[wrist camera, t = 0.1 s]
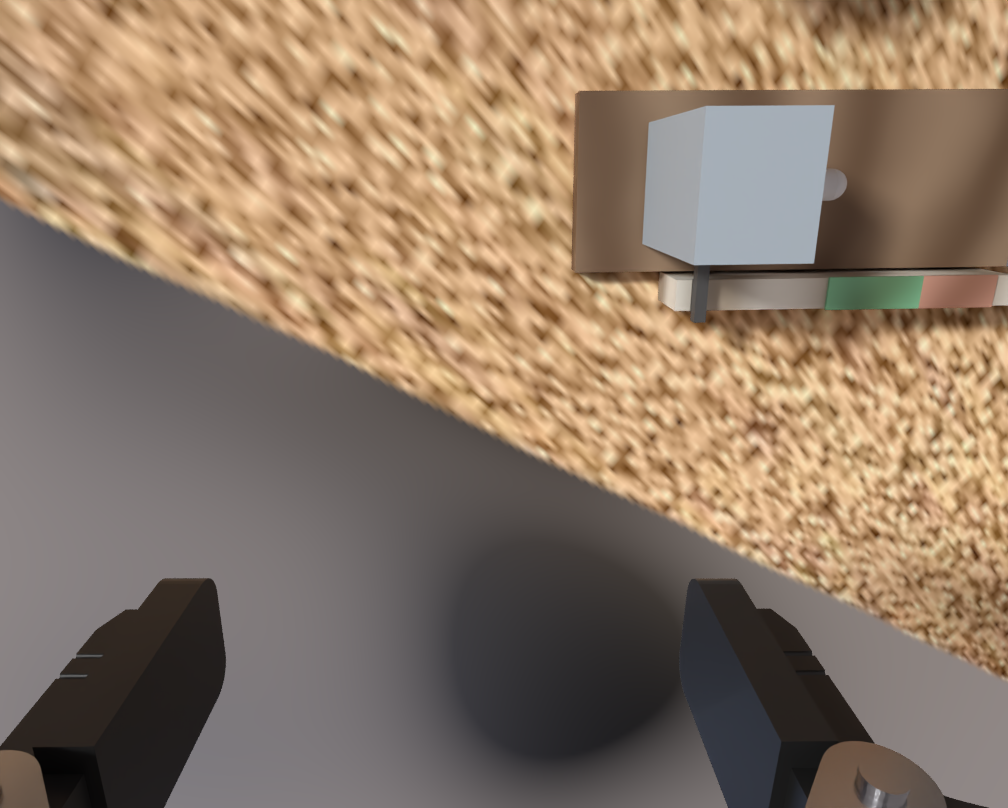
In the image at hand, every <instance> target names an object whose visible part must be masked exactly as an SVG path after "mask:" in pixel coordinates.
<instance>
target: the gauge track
mask: <svg viewBox="0 0 1008 808" xmlns="http://www.w3.org/2000/svg"><path fill="white" fill-rule="evenodd" d="M786 105H835V106H834V114H833V122H832V129H831V137H830V144H829V152H828V160H827V167H826V169H837V170H840V171H841V172H843V173H844V175H845V176H846V179H847V187H846V190H845V191H844V193H843V194H842V195H841V196H840V197H838V198H837V199H835V200H830V201H822V205H821V213H820V221H819V228H818V236H817V244H816V251H815V259H814V263H813V264H744V265H710V274H709V285H708V297H707V309H706V310H764V309H823V308H824V309H825V310H853V309H912V308H970V307H992V306H998V305H1008V274H1006V273H1000V272H995V271H990V270H984V269H979V268H974V267H991V266H1007V267H1008V89H914V90H693V91H579V92H578V93H576V94H575V138H574V184H573V229H572V270H573V271H574V272H575V273H585V272H653V271H660V273H659V289H658V300H659V301H661V302H662V303H664V304H665V305H667V306H668V307H670V308H671V309H673V310H674V311H690V312H691V305H692V292H693V279H694V266H695V265H692V264H690V263H687V262H685V261H682V260H680V259H677V258H675V257H673V256H670V255H668V254H665V253H663V252H661V251H658V250H656V249H653V248H651V247H648V246H646V245H644V244H642V241H643V222H644V204H645V185H646V166H647V148H648V129H649V122H652V121H656V120H659V119H663V118H666V117H670V116H673V115H676V114H680V113H683V112H687V111H690V110H694V109H697V108H701V107H704V106H786Z"/></svg>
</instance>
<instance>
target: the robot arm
mask: <svg viewBox="0 0 1008 808" xmlns="http://www.w3.org/2000/svg"><path fill="white" fill-rule="evenodd" d="M679 667H680V677H681V682H682V687H683V691H684V694H685V697H686V699H687V702H688V704H689V707H690V710H691V712H692V715H693V718H694V720H695V723H696V725H697V728H698V731H699V733H700V735H701V738H702V741H703V743H704V746H705V749H706V751H707V754H708V756H709V759H710V762H711V764H712V767H713V769H714V772H715V774H716V777H717V780H718V782H719V785H720V788H721V790H722V793H723V795H724V798H725V801H726V803H727V806H728V808H987V807H983V806H979V805H975V804H971V803H967V802H963V801H959V800H956V799H953V798H949V797H946V796H944V795H943V794H942V792H941V791H940V789H939V788H938V786H937V785H936V783H935V782H934V781H933V780H932V778H930V776H929V775H928V774H927V773H926V772H925V771H924V770H922V769H921V768H920V767H919V766H918V765H916V764H915V763H914V762H912V761H911V760H909V759H908V758H906V757H904V756H903V755H901V754H899V753H897V752H895V751H893V750H891V749H888V748H886V747H883V746H880V745H877V744H875V743H874V742H873V740H872V739H871V737H870V736H869V735H868V733H867V732H866V730H865V729H864V727H863V726H862V724H861V723H860V721H859V720H858V718H857V717H856V715H855V714H854V712H853V711H852V709H851V708H850V706H849V705H848V704H847V702H846V701H845V699H844V698H843V697H842V695H841V693H840V692H839V690H838V689H837V688H836V686H835V685H834V683H833V682H832V680H831V679H830V677H829V676H828V675H825V670H824V668H823V667H822V665H821V664H820V663H819V661H818V660H817V658H816V657H815V656H812V651H811V649H810V648H809V646H808V645H807V643H806V642H805V640H804V639H803V637H802V636H801V635H800V633H799V632H798V630H797V629H796V628H795V627H794V626H793V625H791V624H790V623H789V622H787V621H786V620H785V619H783V618H782V617H781V616H780V615H778V614H777V613H776V612H774V611H773V610H772V609H756V607H755V605H754V604H753V602H752V601H751V599H750V598H749V596H748V594H747V593H746V591H745V589H744V588H743V586H742V585H741V583H740V582H739V581H738V580H737V579H692V580H691V581H690V583H689V585H688V590H687V597H686V605H685V614H684V621H683V630H682V637H681V646H680V655H679ZM225 668H226V655H225V647H224V639H223V633H222V625H221V617H220V610H219V603H218V595H217V589H216V585H215V583H214V581H213V580H212V579H209V578H199V579H198V578H193V579H192V578H190V579H189V578H188V579H187V578H183V579H179V578H177V579H176V578H173V579H171V578H169V579H168V578H167V579H166V578H165V579H162V580H161V581H160V582H159V583H158V584H157V585H156V587H155V588H154V589H153V591H152V592H151V593H150V594H149V596H148V597H147V598H146V600H145V601H144V602H143V604H142V605H141V606H140V607H139V609H138V610H125V611H123V612H122V613H120V614H119V615H117V616H116V617H114V618H113V619H111V620H110V621H109V622H107V623H106V624H104V625H103V626H101V627H100V628H98V629H97V630H96V631H95V632H94V633H93V634H92V636H91V637H90V638H89V639H88V641H87V642H86V643H85V644H84V645H83V647H82V648H81V649H80V650H79V652H78V653H77V656H76V659H72V660H71V661H70V662H69V664H68V665H67V666H66V667H65V669H64V670H63V671H62V672H61V673H60V678H59V679H55V681H54V682H53V683H52V684H51V686H50V687H49V688H48V689H47V690H46V691H45V693H44V694H43V695H42V696H41V697H40V699H39V700H38V701H37V702H36V703H35V705H34V706H33V707H32V708H31V710H30V711H29V712H28V713H27V714H26V716H25V717H24V718H23V719H22V720H21V722H20V723H19V724H18V725H17V727H16V728H15V729H14V730H13V731H12V733H11V734H10V735H9V736H8V737H7V739H6V740H5V741H4V743H2V745H1V746H0V808H164V807H165V805H166V802H167V800H168V798H169V796H170V794H171V792H172V790H173V788H174V786H175V784H176V782H177V780H178V778H179V776H180V774H181V772H182V770H183V768H184V766H185V764H186V762H187V760H188V758H189V756H190V754H191V751H192V750H193V748H194V745H195V744H196V741H197V739H198V737H199V735H200V733H201V731H202V729H203V727H204V725H205V723H206V721H207V719H208V717H209V715H210V713H211V711H212V709H213V707H214V704H215V703H216V701H217V699H218V697H219V694H220V692H221V689H222V685H223V681H224V676H225Z"/></svg>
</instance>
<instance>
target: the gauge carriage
mask: <svg viewBox="0 0 1008 808" xmlns="http://www.w3.org/2000/svg"><path fill="white" fill-rule="evenodd" d="M834 106H835V105H786V106H704V107H701V108H697V109H694V110H690V111H687V112H683V113H680V114H676V115H673V116H670V117H666V118H663V119H659V120H656V121H652V122H649V129H648V148H647V166H646V185H645V204H644V222H643V241H642V244H644V245H646V246H648V247H651V248H653V249H656V250H658V251H661V252H663V253H665V254H668V255H670V256H673V257H675V258H677V259H680V260H682V261H685V262H687V263H690V264H692V265H695V266H694V279H693V292H692V305H691V318H690V320H691V321H692V322H694V323H699V322H705V321H706V309H707V297H708V285H709V274H710V265H744V264H813V263H814V259H815V251H816V244H817V236H818V228H819V221H820V213H821V205H822V201H830V200H835V199H837V198H838V197H840V196H841V195H842V194H843V193H844V191H845V190H846V187H847V179H846V176H845V175H844V173H843V172H841V171H840V170H837V169H826V167H827V160H828V152H829V144H830V137H831V129H832V122H833V114H834Z"/></svg>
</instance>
